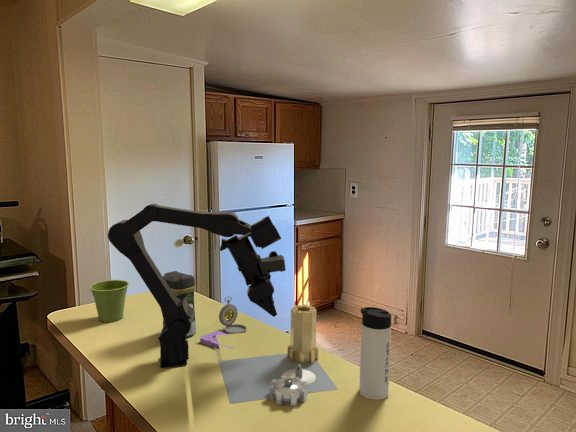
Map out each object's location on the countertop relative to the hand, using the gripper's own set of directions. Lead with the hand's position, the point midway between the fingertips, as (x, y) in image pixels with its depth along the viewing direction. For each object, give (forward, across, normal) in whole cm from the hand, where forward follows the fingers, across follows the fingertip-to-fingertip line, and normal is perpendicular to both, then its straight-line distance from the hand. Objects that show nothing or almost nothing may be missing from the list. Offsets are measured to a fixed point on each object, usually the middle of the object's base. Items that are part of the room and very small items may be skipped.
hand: (273, 309), depth 112 cm
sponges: (+6, +10, +18) cm, 22 cm away
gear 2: (+11, -21, +4) cm, 24 cm away
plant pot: (-12, +32, +51) cm, 61 cm away
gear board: (+11, -11, +6) cm, 17 cm away
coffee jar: (-1, +18, +30) cm, 35 cm away
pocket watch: (+7, +20, +16) cm, 26 cm away
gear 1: (+14, -3, -1) cm, 14 cm away
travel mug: (+21, -21, -12) cm, 32 cm away
